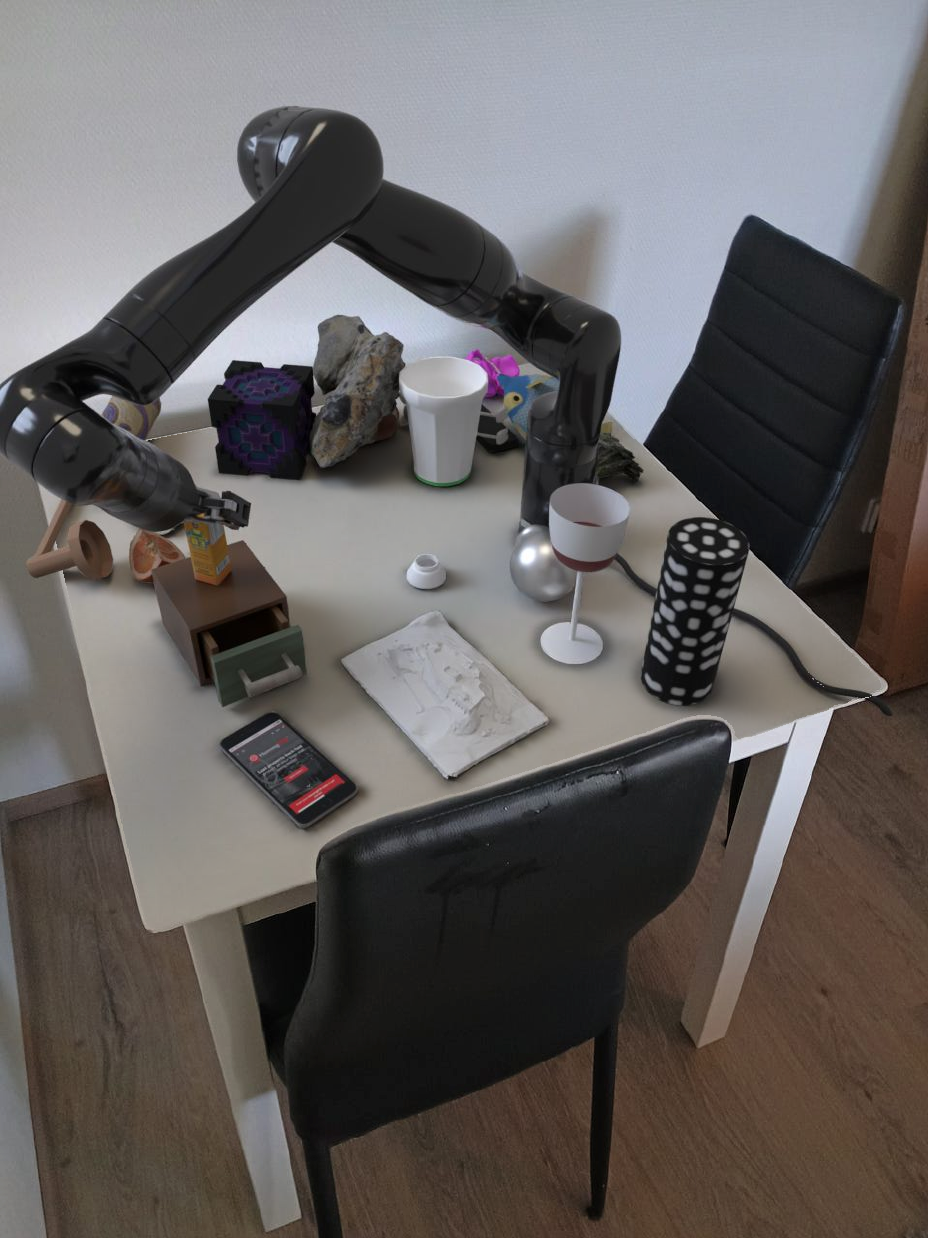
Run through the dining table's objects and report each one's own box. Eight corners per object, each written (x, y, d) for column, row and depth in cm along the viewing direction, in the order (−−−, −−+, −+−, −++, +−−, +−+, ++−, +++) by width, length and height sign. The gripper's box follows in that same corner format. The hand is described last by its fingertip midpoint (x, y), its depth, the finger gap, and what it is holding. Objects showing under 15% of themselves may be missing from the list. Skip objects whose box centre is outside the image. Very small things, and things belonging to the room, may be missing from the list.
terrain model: (428, 618, 125) (427, 585, 122) (566, 712, 112) (569, 678, 109) (321, 679, 116) (317, 646, 113) (457, 789, 103) (457, 754, 100)
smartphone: (302, 827, 98) (216, 742, 106) (302, 831, 99) (217, 747, 107) (360, 787, 102) (273, 708, 110) (360, 792, 103) (274, 713, 111)
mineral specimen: (654, 497, 145) (614, 509, 154) (646, 410, 146) (606, 426, 155) (567, 499, 139) (530, 510, 148) (559, 407, 139) (522, 424, 148)
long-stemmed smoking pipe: (89, 499, 146) (60, 456, 141) (145, 480, 145) (118, 437, 140) (41, 608, 127) (6, 563, 122) (105, 588, 125) (72, 542, 120)
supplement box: (192, 581, 115) (178, 508, 108) (208, 564, 117) (196, 491, 110) (217, 588, 114) (204, 515, 107) (233, 571, 116) (222, 498, 110)
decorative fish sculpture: (513, 330, 150) (496, 411, 143) (634, 372, 153) (622, 454, 147) (489, 378, 161) (471, 455, 154) (602, 417, 164) (589, 494, 158)
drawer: (322, 695, 112) (318, 651, 108) (236, 730, 108) (228, 685, 103) (266, 617, 122) (260, 574, 117) (185, 647, 117) (175, 602, 113)
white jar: (453, 579, 129) (427, 562, 132) (454, 561, 128) (427, 544, 130) (425, 596, 127) (398, 578, 129) (425, 578, 125) (398, 560, 127)
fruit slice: (123, 563, 130) (115, 532, 127) (174, 548, 133) (167, 517, 129) (144, 600, 125) (136, 568, 121) (196, 583, 127) (190, 551, 124)
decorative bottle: (107, 405, 157) (121, 370, 153) (154, 427, 159) (169, 392, 155) (57, 487, 136) (71, 447, 132) (111, 510, 138) (127, 472, 135)
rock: (397, 452, 133) (304, 381, 127) (327, 499, 150) (242, 438, 144) (464, 320, 144) (382, 249, 139) (392, 377, 161) (316, 316, 155)
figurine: (516, 394, 151) (413, 379, 158) (497, 407, 146) (392, 391, 154) (516, 441, 154) (416, 424, 162) (498, 455, 150) (395, 437, 157)
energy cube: (318, 438, 155) (312, 366, 147) (299, 480, 146) (292, 405, 138) (242, 431, 156) (232, 359, 148) (218, 472, 147) (207, 398, 139)
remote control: (519, 449, 155) (473, 402, 164) (520, 439, 153) (473, 392, 163) (491, 456, 153) (446, 408, 162) (491, 446, 152) (446, 398, 161)
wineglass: (589, 675, 117) (610, 536, 104) (523, 647, 120) (536, 508, 107) (618, 637, 122) (642, 499, 109) (555, 611, 125) (570, 475, 112)
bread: (334, 407, 162) (332, 379, 159) (404, 413, 161) (403, 385, 158) (318, 443, 154) (315, 415, 151) (391, 450, 153) (390, 421, 150)
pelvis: (531, 361, 167) (520, 400, 170) (482, 343, 170) (472, 381, 173) (497, 367, 157) (486, 408, 160) (446, 347, 160) (437, 387, 163)
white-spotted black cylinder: (712, 711, 113) (750, 570, 100) (637, 699, 114) (665, 558, 101) (713, 661, 119) (749, 523, 106) (642, 650, 120) (669, 512, 107)
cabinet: (293, 651, 119) (286, 596, 113) (200, 686, 114) (189, 630, 108) (251, 593, 126) (243, 539, 121) (162, 624, 122) (150, 569, 116)
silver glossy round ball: (610, 562, 124) (561, 499, 126) (564, 587, 118) (513, 520, 120) (570, 599, 131) (525, 539, 133) (524, 625, 125) (477, 561, 126)
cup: (500, 465, 150) (505, 371, 140) (454, 504, 142) (457, 407, 132) (430, 440, 155) (431, 347, 145) (383, 476, 147) (380, 381, 137)
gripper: (220, 452, 93) (267, 489, 109) (72, 437, 94) (141, 476, 110) (209, 532, 92) (258, 557, 109) (60, 516, 94) (131, 543, 110)
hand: (199, 516), depth 109 cm, fingers open, 8 cm apart
